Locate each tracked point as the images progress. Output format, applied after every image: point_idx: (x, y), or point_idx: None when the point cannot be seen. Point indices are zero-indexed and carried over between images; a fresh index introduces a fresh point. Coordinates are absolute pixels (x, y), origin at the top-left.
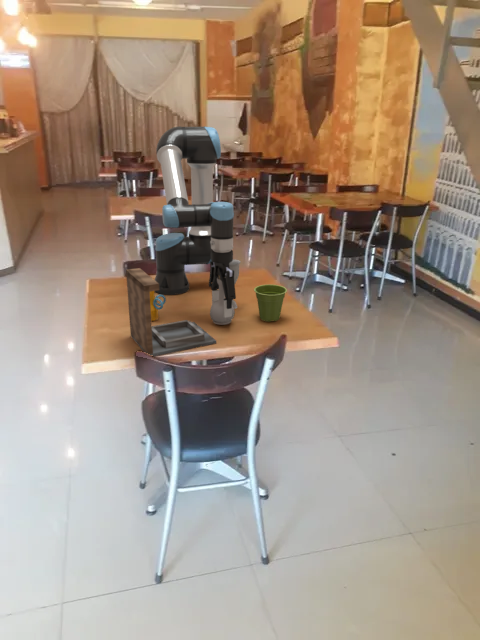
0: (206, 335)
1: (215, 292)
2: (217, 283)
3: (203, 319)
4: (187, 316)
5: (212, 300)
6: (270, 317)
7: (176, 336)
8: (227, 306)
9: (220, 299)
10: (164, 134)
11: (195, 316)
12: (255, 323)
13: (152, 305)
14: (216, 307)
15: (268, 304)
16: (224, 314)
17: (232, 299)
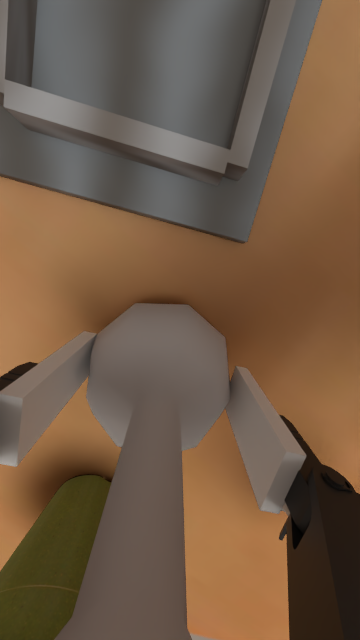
0: (61, 171)
1: (268, 461)
2: (304, 610)
3: (257, 315)
4: (337, 282)
5: (258, 394)
6: (49, 502)
7: (149, 6)
8: (25, 372)
9: (143, 408)
10: None
11: (309, 310)
12: (84, 440)
13: None
14: (137, 334)
15: (4, 573)
16: (80, 337)
17: (284, 511)
